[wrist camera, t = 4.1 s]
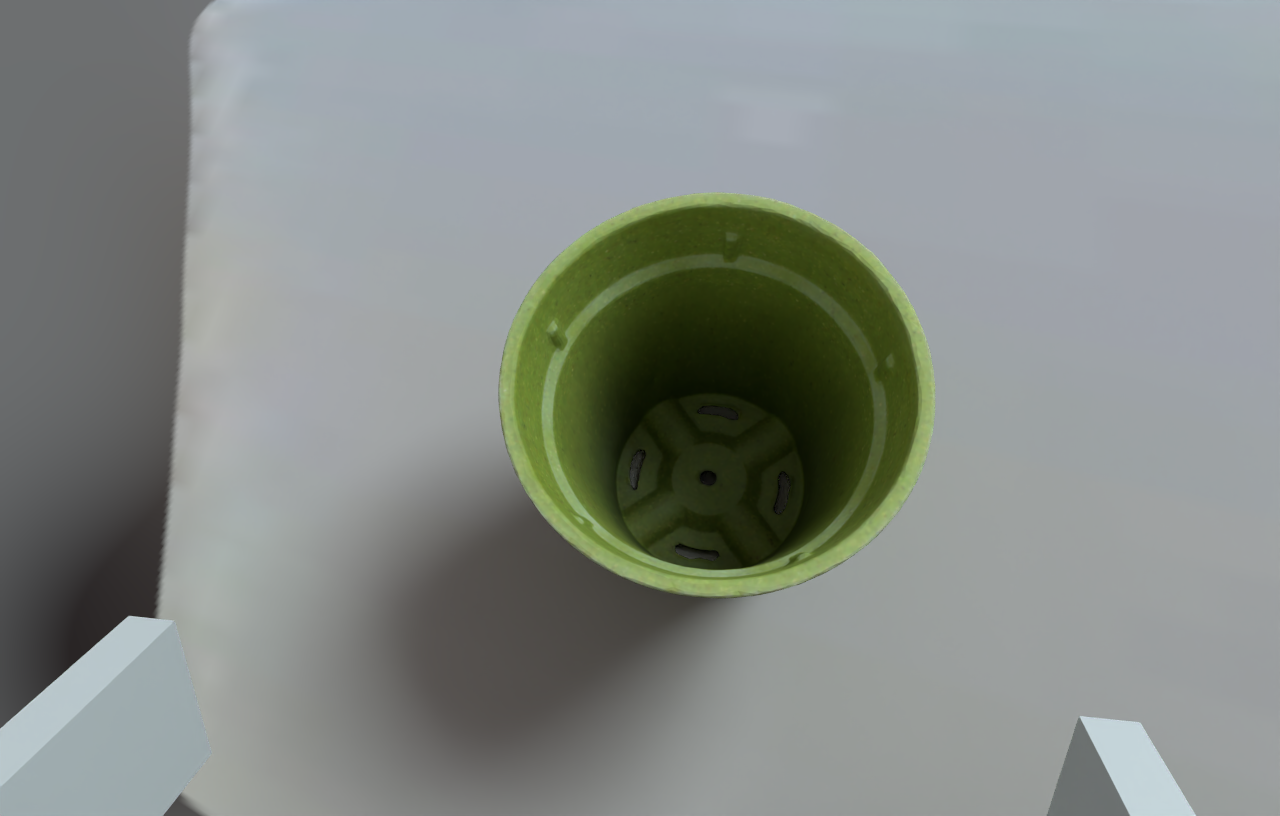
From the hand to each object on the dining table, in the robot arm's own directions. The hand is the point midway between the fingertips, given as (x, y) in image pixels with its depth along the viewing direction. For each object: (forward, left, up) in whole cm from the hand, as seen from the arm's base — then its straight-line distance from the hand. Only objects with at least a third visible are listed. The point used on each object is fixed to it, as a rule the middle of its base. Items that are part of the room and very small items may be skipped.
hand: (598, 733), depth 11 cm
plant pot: (-7, -3, -12) cm, 14 cm away
